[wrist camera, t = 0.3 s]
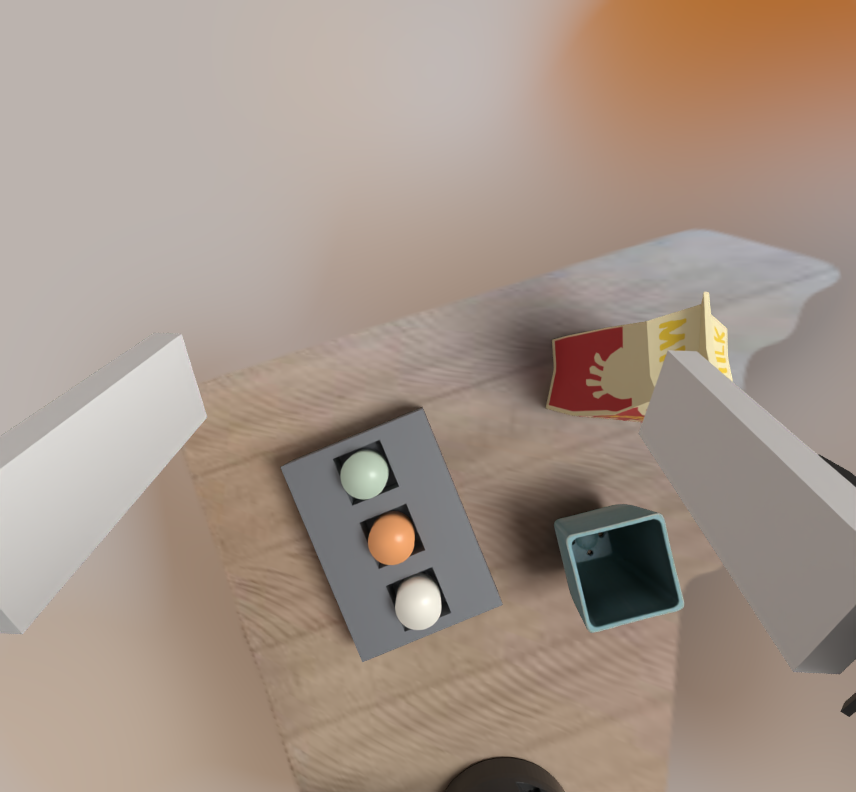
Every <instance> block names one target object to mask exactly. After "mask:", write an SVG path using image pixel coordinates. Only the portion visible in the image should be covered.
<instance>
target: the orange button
mask: <svg viewBox="0 0 856 792" xmlns="http://www.w3.org/2000/svg"><path fill="white" fill-rule="evenodd" d="M414 541H415V528H414V525H413V523H412V521H411V519H410V518H409V517H408V516H407V515H405V514H403V513H401V512H398V511H389V512H385V513H383V514H381V515H380V516H379V517H378V518H377V519H376V520H375V521H374V523H373V526H372V529H371V531H370V534H369V538H368V547H369V550H370V552H371V554H372V556H373V557H374V558H375V559H376V560H377V561H379V562H381V563H383V564H386V565H396V564H400V563H402V562H404V561H405V560H406V559H407V558H408V557H409V556H410V555H411V553H412V551H413V548H414Z"/></svg>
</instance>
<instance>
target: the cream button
mask: <svg viewBox="0 0 856 792" xmlns="http://www.w3.org/2000/svg"><path fill="white" fill-rule="evenodd" d="M395 611H396V615H397V617H398V619H399V621H400V622H401V623H402V624H403V625H404V626H406V627H407V628H409V629H413V630H424V629H427V628H429V627H431V626H432V625H433V624H435V622H436V621H437V620H438V618H439V616H440V614H441V596H440V588H439V585H438V583H437V582H436V580H435V579H434V578H433V577H431V576H430V575H428V574H425V573H416V574H413V575H411V576H409V577H406V578H404V579H403V580H402V581H401V582H400V584H399V586H398V589H397V596H396V604H395Z"/></svg>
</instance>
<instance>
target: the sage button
mask: <svg viewBox="0 0 856 792" xmlns="http://www.w3.org/2000/svg"><path fill="white" fill-rule="evenodd" d="M340 477H341V483H342V486H343V488H344V489H345V491H346V492H347V493H348V494H350V495H351V496H353V497H355V498H358V499H370V498H373V497H375V496H377V495H378V494H379V493H380V492H381V491H382V490H383V489H384V487H385V485H386V482H387V479H388V477H389V465H388V462H387V460H386V458H385V457H384V456H383V455H382V454H381V453H380V452H378V451H376V450H373V449H362V450H359V451H357V452H355V453H354V454H353V455H352V456H351V457H350V458H349V459H348V460H347V461H346V462H345V463H344V465H343V467H342V469H341V476H340Z"/></svg>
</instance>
